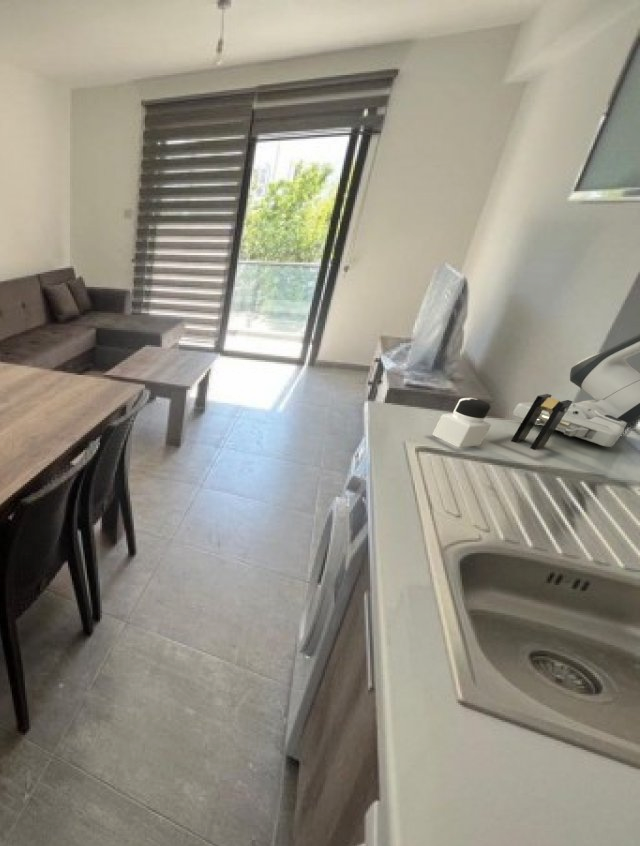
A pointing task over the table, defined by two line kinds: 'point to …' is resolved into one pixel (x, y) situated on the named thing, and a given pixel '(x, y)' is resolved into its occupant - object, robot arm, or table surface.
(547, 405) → the switch lever
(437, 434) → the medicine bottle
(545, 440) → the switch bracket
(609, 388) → the robot arm
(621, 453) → the table surface
